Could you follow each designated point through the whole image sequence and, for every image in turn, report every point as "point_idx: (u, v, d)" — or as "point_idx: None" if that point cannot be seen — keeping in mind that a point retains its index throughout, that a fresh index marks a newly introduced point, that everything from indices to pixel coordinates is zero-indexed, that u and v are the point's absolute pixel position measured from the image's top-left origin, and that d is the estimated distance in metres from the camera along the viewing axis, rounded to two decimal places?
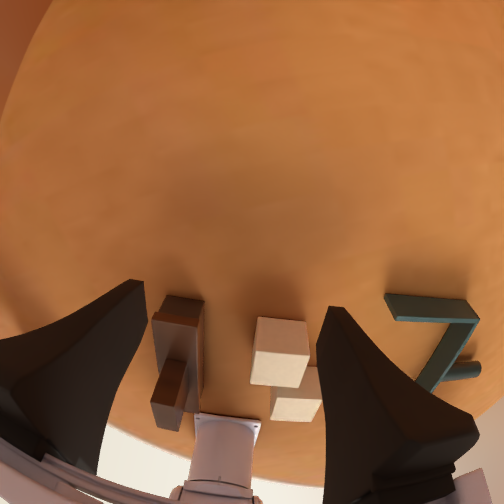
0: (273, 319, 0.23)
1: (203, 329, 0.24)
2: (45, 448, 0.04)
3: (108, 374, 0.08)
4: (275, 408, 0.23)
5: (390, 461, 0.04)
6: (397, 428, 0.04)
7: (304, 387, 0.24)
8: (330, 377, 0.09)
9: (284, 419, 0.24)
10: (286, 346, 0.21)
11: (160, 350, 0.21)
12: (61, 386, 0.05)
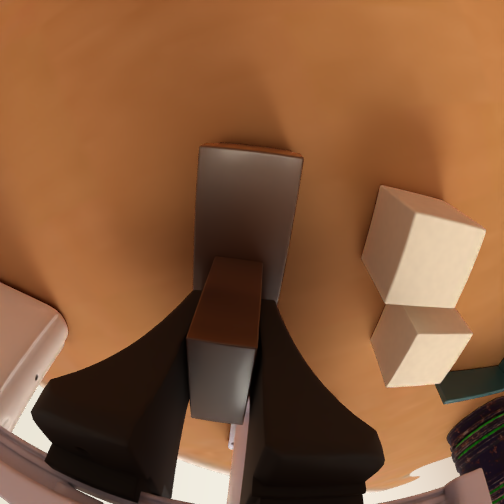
0: (403, 190, 0.13)
1: None
2: (141, 487, 0.04)
3: (184, 392, 0.08)
4: (405, 360, 0.12)
5: (262, 466, 0.04)
6: (263, 430, 0.04)
7: (443, 318, 0.13)
8: None
9: (408, 383, 0.13)
10: (449, 214, 0.10)
11: (205, 233, 0.11)
12: (160, 417, 0.05)
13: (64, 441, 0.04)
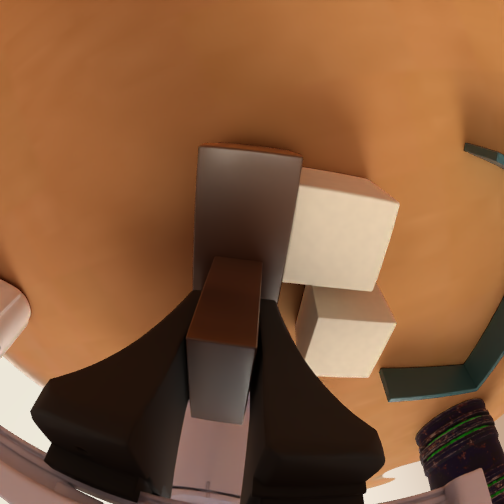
0: (317, 169, 0.13)
1: None
2: (140, 486, 0.04)
3: (184, 392, 0.08)
4: (311, 346, 0.13)
5: (262, 466, 0.04)
6: (264, 430, 0.04)
7: (361, 304, 0.14)
8: (253, 371, 0.09)
9: (324, 373, 0.14)
10: (352, 188, 0.11)
11: (205, 233, 0.11)
12: (159, 417, 0.05)
13: (64, 440, 0.04)
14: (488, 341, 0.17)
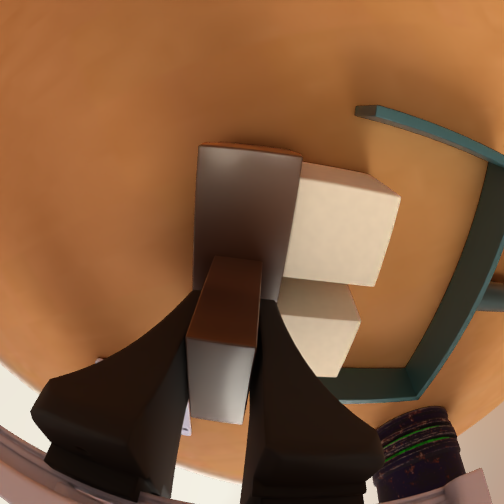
0: None
1: None
2: (140, 486, 0.04)
3: (183, 392, 0.08)
4: None
5: (262, 466, 0.04)
6: (264, 430, 0.04)
7: (324, 301, 0.14)
8: (253, 371, 0.09)
9: None
10: (353, 182, 0.11)
11: (204, 232, 0.11)
12: (159, 417, 0.05)
13: (64, 440, 0.04)
14: (429, 342, 0.17)
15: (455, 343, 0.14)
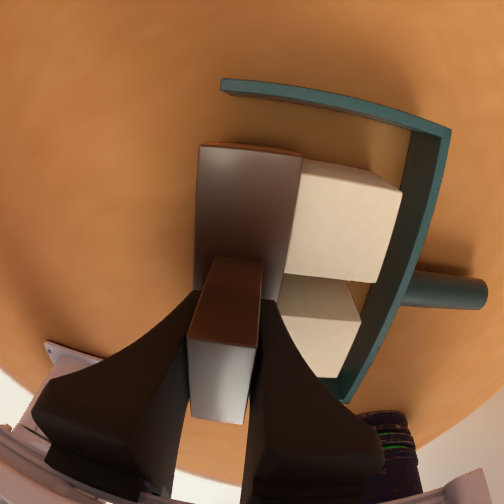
0: (319, 161, 0.13)
1: None
2: (140, 486, 0.04)
3: (184, 392, 0.08)
4: None
5: (262, 466, 0.04)
6: (264, 430, 0.04)
7: (324, 301, 0.14)
8: (253, 371, 0.09)
9: None
10: (355, 178, 0.10)
11: (205, 232, 0.11)
12: (159, 417, 0.05)
13: (64, 440, 0.04)
14: (357, 340, 0.17)
15: (379, 342, 0.14)
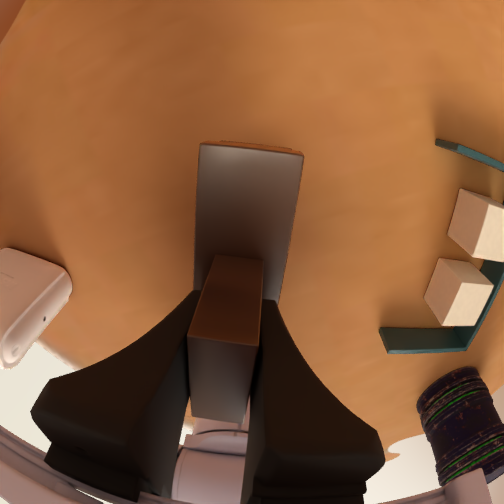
0: None
1: None
2: (140, 486, 0.04)
3: (183, 392, 0.08)
4: (454, 303, 0.18)
5: (262, 466, 0.04)
6: (264, 430, 0.04)
7: (474, 275, 0.18)
8: None
9: (454, 323, 0.19)
10: (501, 206, 0.15)
11: (206, 231, 0.11)
12: (159, 417, 0.05)
13: (64, 440, 0.04)
14: None
15: (492, 301, 0.19)
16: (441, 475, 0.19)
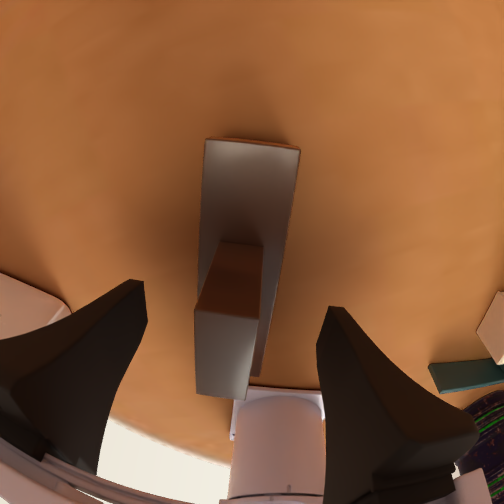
0: None
1: None
2: (45, 448, 0.04)
3: (108, 374, 0.08)
4: None
5: (390, 461, 0.04)
6: (397, 428, 0.04)
7: None
8: (330, 377, 0.09)
9: None
10: None
11: (210, 220, 0.11)
12: (61, 386, 0.05)
13: None
14: None
15: None
16: None
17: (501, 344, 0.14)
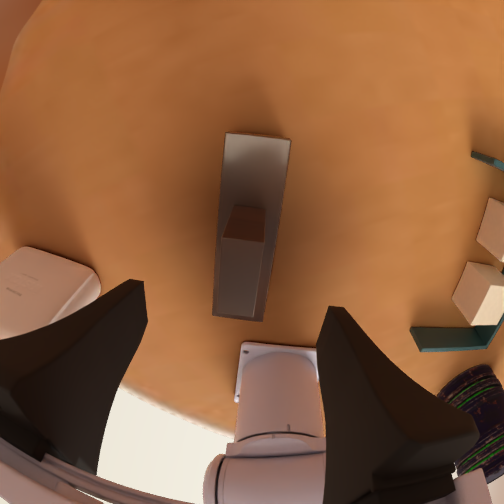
0: None
1: None
2: (45, 448, 0.04)
3: (108, 374, 0.08)
4: (482, 303, 0.18)
5: (390, 461, 0.04)
6: (397, 428, 0.04)
7: (499, 278, 0.18)
8: (330, 377, 0.09)
9: (481, 322, 0.19)
10: None
11: (227, 189, 0.16)
12: (61, 386, 0.05)
13: None
14: None
15: None
16: (461, 467, 0.19)
17: (473, 306, 0.19)
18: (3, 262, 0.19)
